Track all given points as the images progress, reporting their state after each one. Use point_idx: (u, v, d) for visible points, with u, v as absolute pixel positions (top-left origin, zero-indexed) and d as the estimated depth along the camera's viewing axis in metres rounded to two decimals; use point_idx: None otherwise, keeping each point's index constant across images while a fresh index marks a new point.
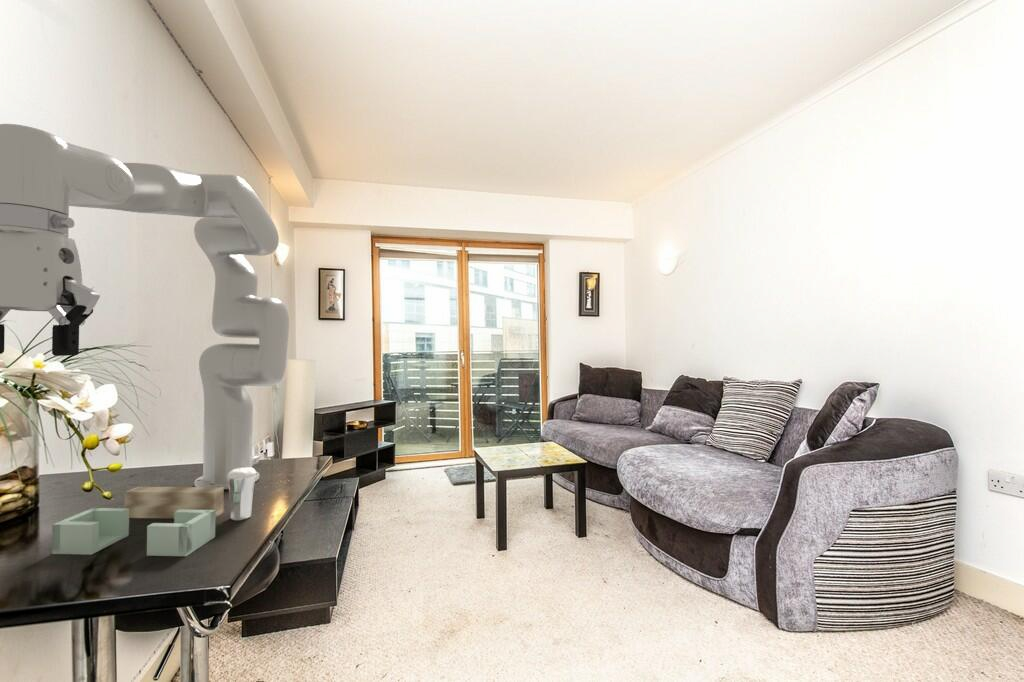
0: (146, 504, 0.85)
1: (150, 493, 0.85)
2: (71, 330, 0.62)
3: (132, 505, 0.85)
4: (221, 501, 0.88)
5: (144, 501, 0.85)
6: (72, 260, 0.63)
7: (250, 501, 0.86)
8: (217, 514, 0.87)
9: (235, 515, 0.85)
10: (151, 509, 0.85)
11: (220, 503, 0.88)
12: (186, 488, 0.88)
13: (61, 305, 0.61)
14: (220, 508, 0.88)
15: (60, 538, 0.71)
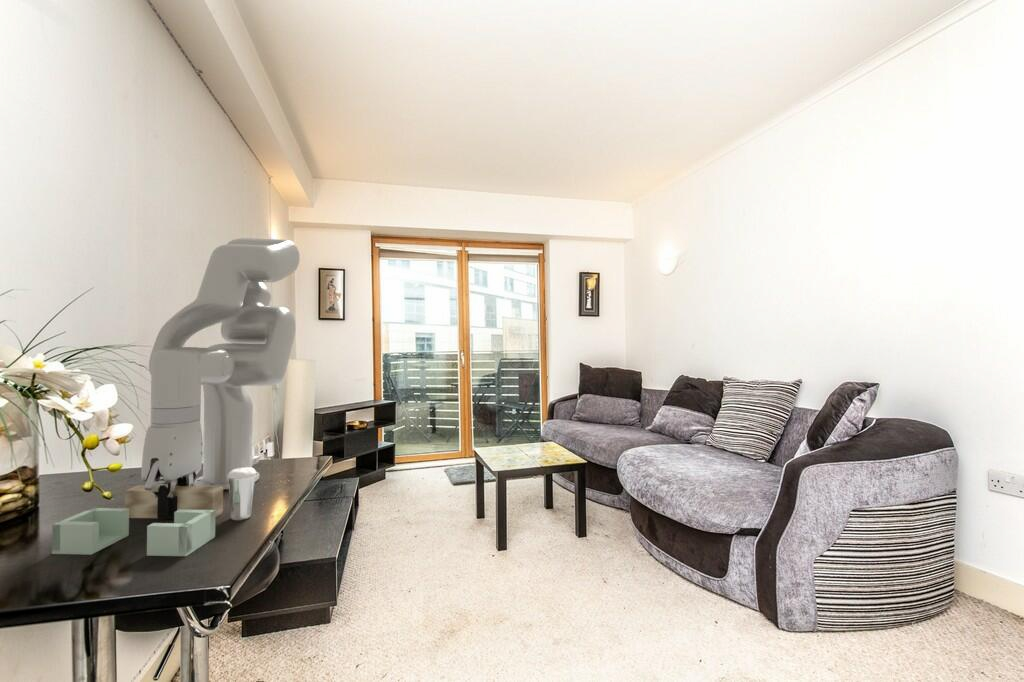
0: (146, 503, 0.85)
1: (150, 492, 0.85)
2: None
3: (132, 503, 0.85)
4: (220, 500, 0.88)
5: (144, 500, 0.85)
6: None
7: (250, 501, 0.86)
8: (216, 513, 0.86)
9: (235, 515, 0.85)
10: (151, 508, 0.85)
11: (219, 502, 0.87)
12: (186, 487, 0.87)
13: None
14: (219, 507, 0.87)
15: (60, 538, 0.71)
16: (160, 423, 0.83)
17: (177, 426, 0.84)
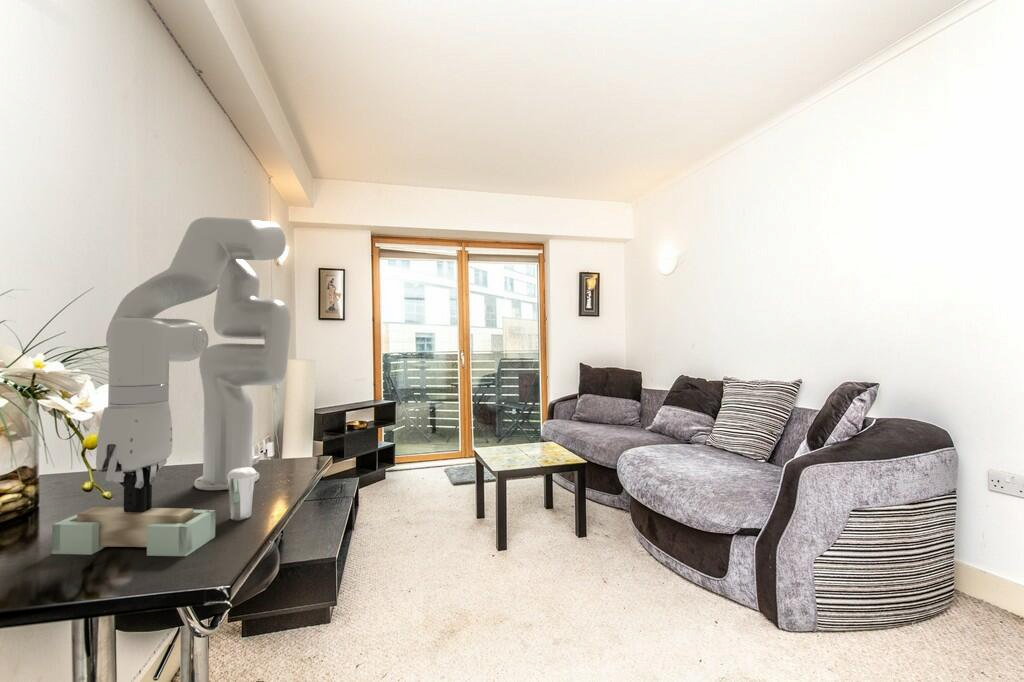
0: (102, 529, 0.73)
1: (106, 516, 0.73)
2: None
3: None
4: None
5: (100, 525, 0.73)
6: None
7: (250, 501, 0.86)
8: None
9: (235, 515, 0.85)
10: (108, 534, 0.73)
11: None
12: (149, 509, 0.75)
13: None
14: None
15: (60, 538, 0.71)
16: (119, 403, 0.71)
17: (139, 407, 0.71)
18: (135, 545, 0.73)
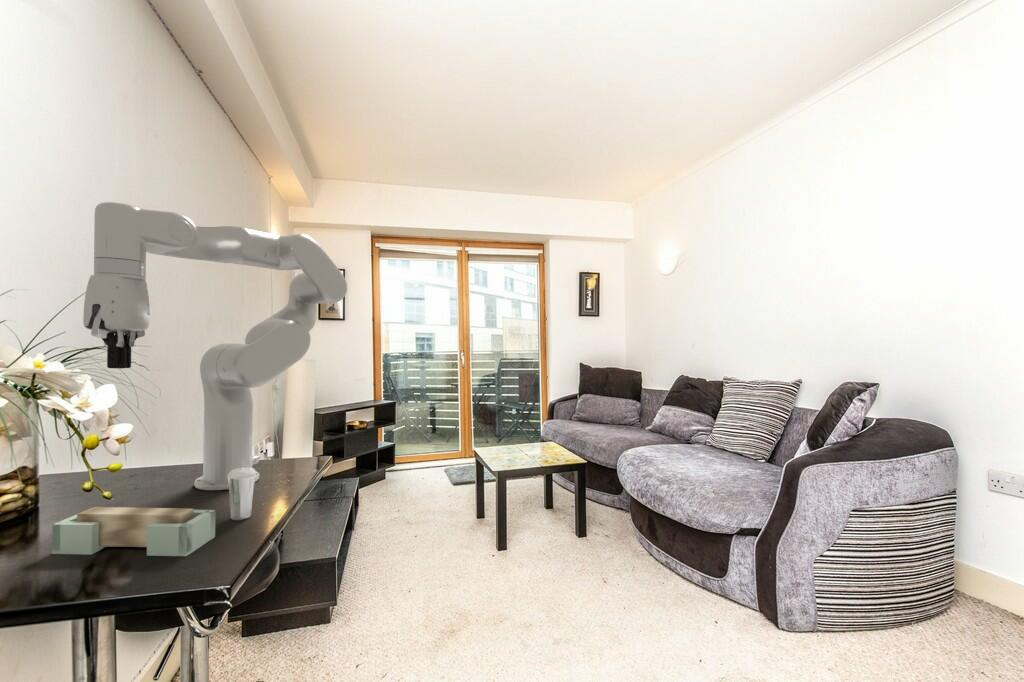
0: (102, 529, 0.73)
1: (106, 516, 0.73)
2: None
3: None
4: None
5: (100, 525, 0.73)
6: None
7: (250, 501, 0.86)
8: None
9: (235, 515, 0.85)
10: (108, 534, 0.73)
11: None
12: (149, 509, 0.75)
13: None
14: None
15: (60, 538, 0.71)
16: (102, 272, 0.84)
17: (120, 276, 0.85)
18: (135, 545, 0.73)
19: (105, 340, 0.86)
